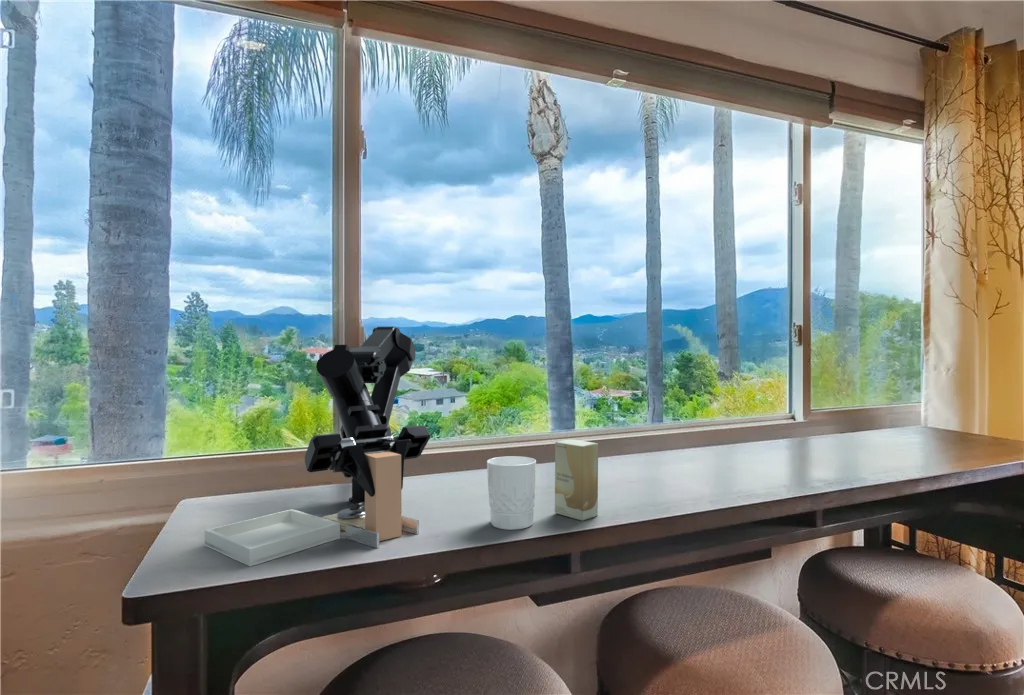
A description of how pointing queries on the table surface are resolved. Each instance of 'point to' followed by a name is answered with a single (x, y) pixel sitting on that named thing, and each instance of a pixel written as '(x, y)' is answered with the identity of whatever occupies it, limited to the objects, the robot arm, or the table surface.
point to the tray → (271, 536)
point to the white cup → (511, 491)
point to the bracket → (356, 518)
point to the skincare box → (576, 479)
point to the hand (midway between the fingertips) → (387, 492)
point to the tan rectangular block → (384, 495)
